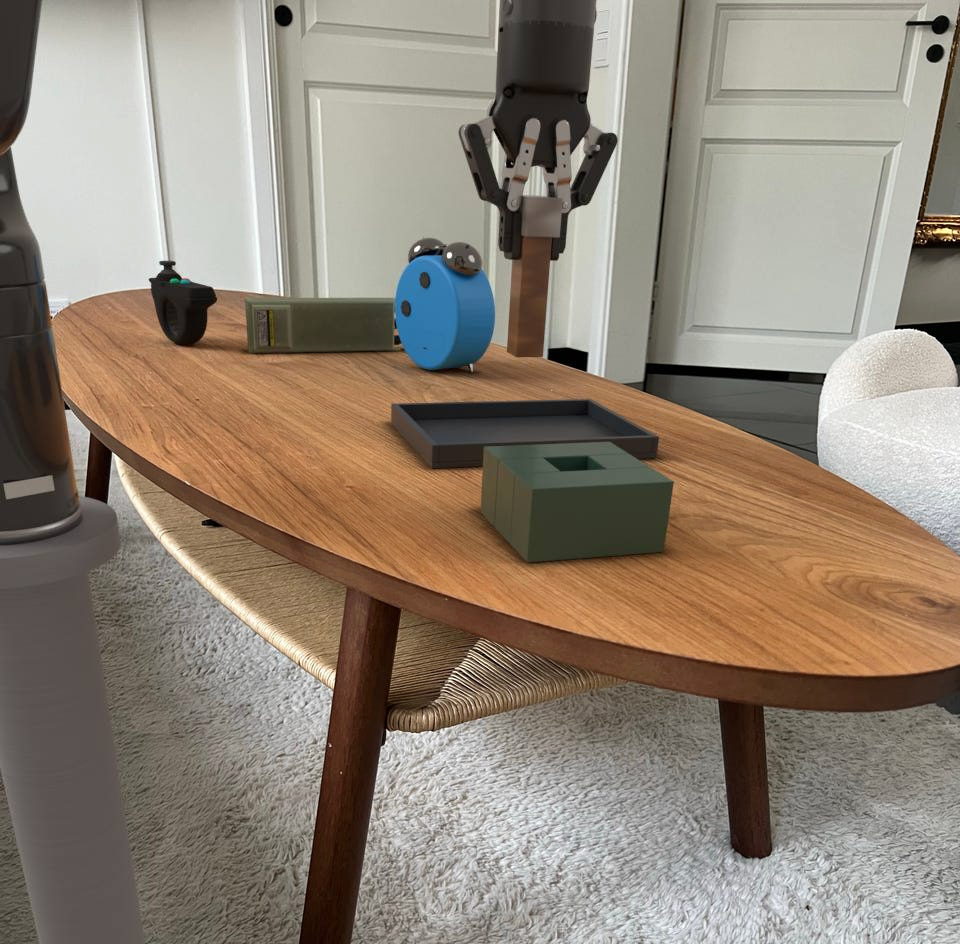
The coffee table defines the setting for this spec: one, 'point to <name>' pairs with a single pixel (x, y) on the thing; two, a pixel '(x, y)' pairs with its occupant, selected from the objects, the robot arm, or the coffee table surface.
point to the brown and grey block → (532, 275)
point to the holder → (574, 500)
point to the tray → (512, 428)
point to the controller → (181, 305)
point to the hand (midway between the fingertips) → (530, 258)
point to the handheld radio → (320, 324)
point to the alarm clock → (444, 305)
